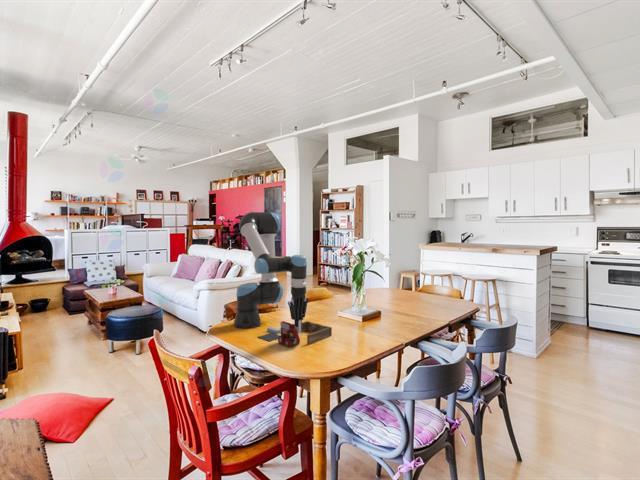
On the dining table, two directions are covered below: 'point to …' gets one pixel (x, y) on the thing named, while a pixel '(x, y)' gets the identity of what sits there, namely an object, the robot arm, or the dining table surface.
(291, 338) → the toy fire truck
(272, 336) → the black hole patch
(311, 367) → the dining table surface
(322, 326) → the walnut cubby
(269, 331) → the slate-blue stick
